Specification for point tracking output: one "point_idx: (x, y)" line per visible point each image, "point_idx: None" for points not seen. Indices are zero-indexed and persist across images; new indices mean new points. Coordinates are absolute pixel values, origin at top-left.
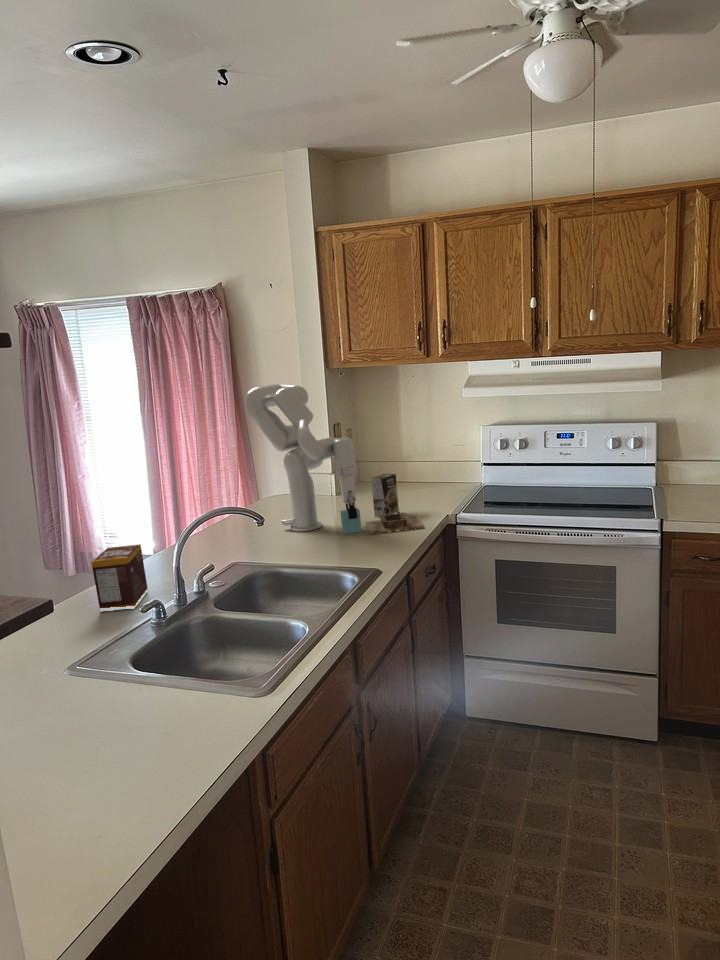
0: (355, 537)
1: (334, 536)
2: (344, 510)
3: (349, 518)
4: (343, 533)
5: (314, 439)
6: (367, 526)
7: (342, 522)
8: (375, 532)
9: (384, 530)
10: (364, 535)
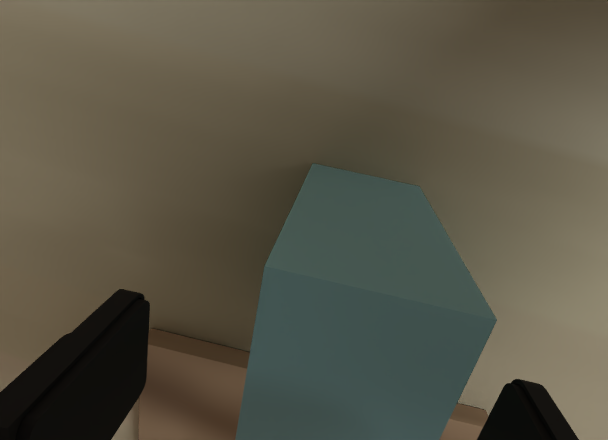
0: (129, 218)
1: (269, 51)
2: (458, 387)
3: (118, 299)
4: (311, 166)
5: None
6: None
7: (293, 206)
8: None
9: (139, 424)
10: (156, 292)
